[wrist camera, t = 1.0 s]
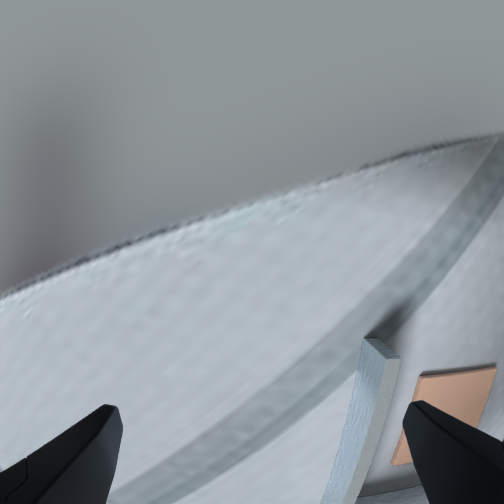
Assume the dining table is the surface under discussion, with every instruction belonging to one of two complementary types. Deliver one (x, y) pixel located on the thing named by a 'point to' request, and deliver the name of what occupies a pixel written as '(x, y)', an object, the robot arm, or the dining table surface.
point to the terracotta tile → (451, 399)
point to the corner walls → (367, 430)
